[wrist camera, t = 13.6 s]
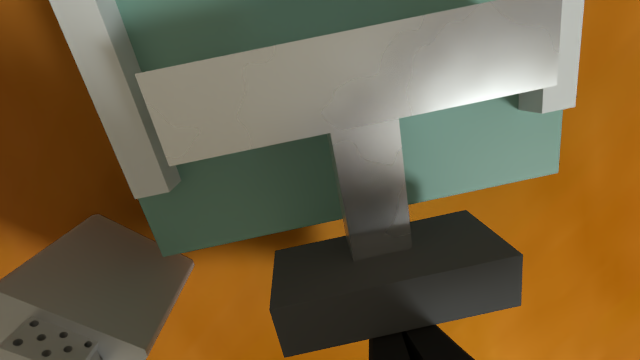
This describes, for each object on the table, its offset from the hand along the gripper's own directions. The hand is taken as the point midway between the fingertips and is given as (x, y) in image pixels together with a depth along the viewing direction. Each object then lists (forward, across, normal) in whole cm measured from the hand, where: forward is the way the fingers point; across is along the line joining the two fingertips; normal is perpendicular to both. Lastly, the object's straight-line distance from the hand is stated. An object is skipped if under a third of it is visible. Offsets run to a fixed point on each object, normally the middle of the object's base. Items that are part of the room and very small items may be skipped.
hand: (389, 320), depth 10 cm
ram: (+2, 0, -5) cm, 5 cm away
